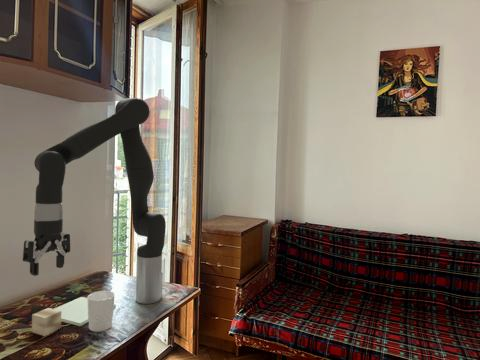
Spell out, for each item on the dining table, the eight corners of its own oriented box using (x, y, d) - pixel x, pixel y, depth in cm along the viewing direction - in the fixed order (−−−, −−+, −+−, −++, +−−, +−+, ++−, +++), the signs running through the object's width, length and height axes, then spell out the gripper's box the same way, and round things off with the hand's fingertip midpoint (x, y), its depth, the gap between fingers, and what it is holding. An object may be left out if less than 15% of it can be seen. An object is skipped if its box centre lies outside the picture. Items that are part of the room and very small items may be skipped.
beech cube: (48, 324, 108) (48, 307, 107) (61, 328, 106) (61, 310, 105) (32, 332, 103) (32, 314, 102) (45, 336, 101) (45, 318, 100)
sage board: (81, 299, 128) (81, 296, 128) (115, 307, 122) (115, 304, 122) (43, 316, 113) (43, 313, 113) (80, 326, 107) (80, 323, 107)
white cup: (82, 326, 107) (83, 295, 107) (106, 318, 113) (107, 289, 113) (93, 335, 102) (94, 302, 102) (118, 327, 108) (119, 295, 107)
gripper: (59, 214, 111) (58, 263, 111) (17, 219, 97) (16, 276, 98) (77, 216, 108) (76, 267, 109) (36, 222, 95) (34, 280, 95)
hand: (47, 271), depth 103 cm, fingers open, 8 cm apart
